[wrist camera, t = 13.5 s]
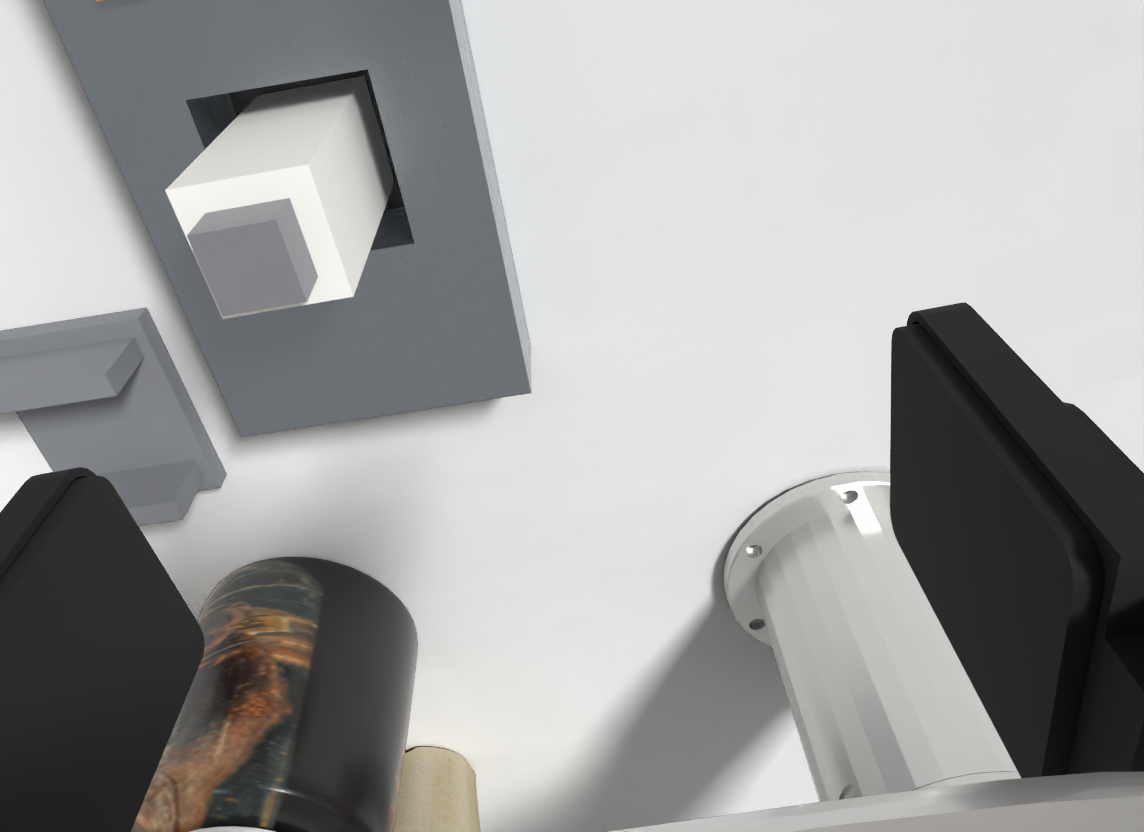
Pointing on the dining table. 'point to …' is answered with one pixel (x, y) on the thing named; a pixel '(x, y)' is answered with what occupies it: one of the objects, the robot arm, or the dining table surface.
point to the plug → (287, 199)
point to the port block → (404, 236)
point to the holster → (111, 409)
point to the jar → (291, 707)
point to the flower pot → (437, 793)
